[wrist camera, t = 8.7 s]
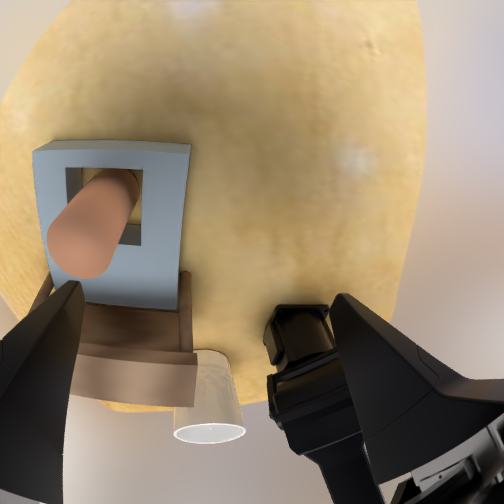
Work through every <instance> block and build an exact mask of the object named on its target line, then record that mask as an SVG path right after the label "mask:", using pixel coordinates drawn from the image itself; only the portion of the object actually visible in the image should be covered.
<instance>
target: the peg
mask: <svg viewBox="0 0 504 504" xmlns="http://www.w3.org/2000/svg"><path fill="white" fill-rule="evenodd" d="M138 196H139V186H138V183H137V180H136V178H135V177H134V176H133V174H132V173H131V172H130V171H128V170H127V169H121V168H104V169H102V170H100V171H99V172H98V173H97V174H96V175H95V176H94V177H93V178H92V179H91V180H90V181H89V182H88V183H87V184H86V185H85V186H84V187H83V188H82V189H81V190H80V192H79V193H78V194H77V195H76V196H75V197H74V198H73V199H72V200H71V201H70V202H69V204H68V205H67V206H66V207H65V208H64V209H63V210H62V212H61V213H60V214H59V215H58V216H57V217H56V219H55V220H54V221H53V222H52V223H51V225H50V227H49V229H48V232H47V247H48V250H49V253H50V255H51V257H52V259H53V260H54V262H55V263H56V264H57V265H58V266H59V267H60V268H61V269H62V270H63V271H65V272H66V273H68V274H70V275H72V276H74V277H78V278H82V279H91V278H95V277H98V276H100V275H102V274H103V273H104V272H105V271H106V270H107V269H108V267H109V265H110V263H111V260H112V257H113V255H114V252H115V250H116V247H117V245H118V242H119V240H120V238H121V235H122V233H123V231H124V228H125V226H126V224H127V221H128V219H129V217H130V215H131V213H132V210H133V208H134V206H135V204H136V202H137V200H138Z"/></svg>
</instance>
